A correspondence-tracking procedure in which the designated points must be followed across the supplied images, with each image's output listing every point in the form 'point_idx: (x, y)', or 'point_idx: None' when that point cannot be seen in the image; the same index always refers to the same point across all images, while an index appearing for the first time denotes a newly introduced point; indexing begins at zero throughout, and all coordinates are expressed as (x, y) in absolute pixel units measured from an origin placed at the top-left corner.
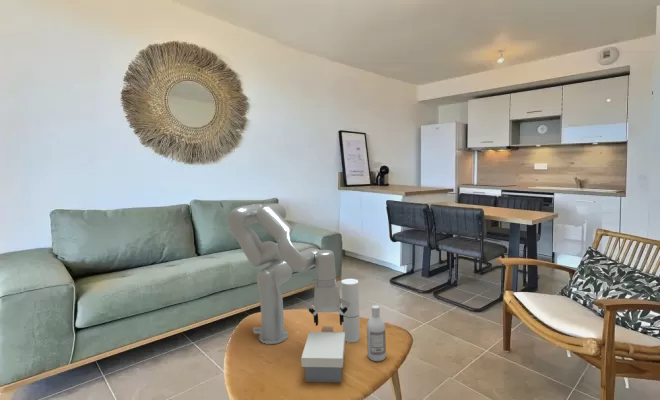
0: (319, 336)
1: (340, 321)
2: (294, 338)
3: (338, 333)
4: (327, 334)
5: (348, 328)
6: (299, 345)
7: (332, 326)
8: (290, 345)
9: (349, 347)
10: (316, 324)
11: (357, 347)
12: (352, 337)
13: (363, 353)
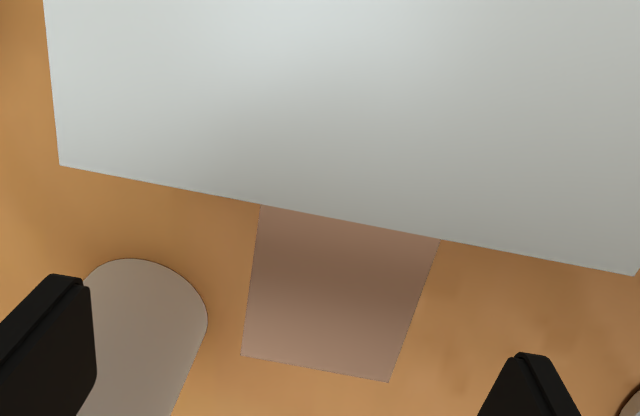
0: (507, 100)
1: (26, 328)
2: (574, 383)
3: (161, 145)
4: (350, 148)
5: (104, 351)
6: (563, 294)
7: (254, 352)
8: (635, 306)
9: (157, 196)
10: (541, 369)
11: (91, 185)
12: (113, 283)
13: (31, 84)
